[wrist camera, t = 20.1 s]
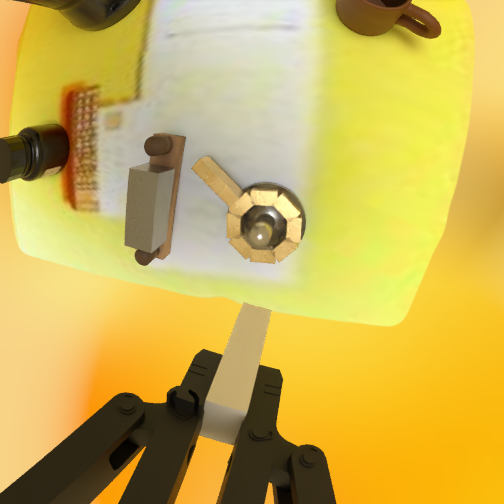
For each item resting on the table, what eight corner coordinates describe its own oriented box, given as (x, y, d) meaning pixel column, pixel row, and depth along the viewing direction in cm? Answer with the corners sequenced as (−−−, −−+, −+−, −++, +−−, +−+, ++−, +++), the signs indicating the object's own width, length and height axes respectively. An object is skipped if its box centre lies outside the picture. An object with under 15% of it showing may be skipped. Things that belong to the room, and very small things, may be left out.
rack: (149, 246, 43) (131, 261, 38) (162, 133, 36) (142, 134, 31) (169, 252, 43) (153, 268, 38) (185, 136, 36) (167, 138, 31)
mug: (429, 32, 25) (459, 10, 16) (406, 69, 28) (434, 52, 19) (351, -19, 24) (360, -54, 15) (324, 16, 27) (328, -16, 18)
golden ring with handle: (264, 269, 40) (260, 280, 37) (182, 185, 37) (171, 190, 35) (316, 226, 37) (317, 235, 34) (229, 135, 34) (222, 135, 31)
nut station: (223, 245, 41) (207, 266, 35) (237, 174, 37) (222, 183, 31) (294, 264, 40) (291, 289, 34) (314, 193, 36) (316, 207, 30)
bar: (166, 240, 40) (151, 253, 36) (141, 233, 40) (124, 245, 36) (175, 168, 36) (158, 173, 31) (148, 163, 36) (129, 168, 32)
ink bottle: (34, 164, 42) (-15, 179, 31) (43, 118, 38) (-9, 125, 27) (66, 181, 42) (14, 200, 31) (76, 131, 38) (21, 139, 27)
